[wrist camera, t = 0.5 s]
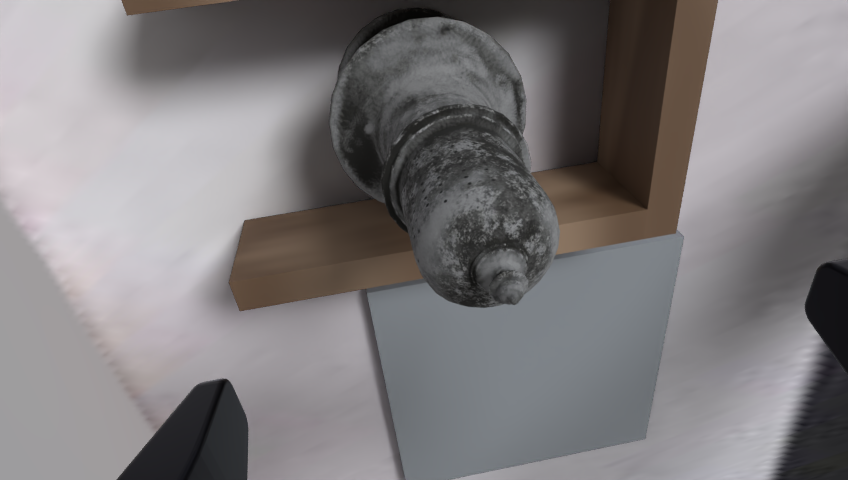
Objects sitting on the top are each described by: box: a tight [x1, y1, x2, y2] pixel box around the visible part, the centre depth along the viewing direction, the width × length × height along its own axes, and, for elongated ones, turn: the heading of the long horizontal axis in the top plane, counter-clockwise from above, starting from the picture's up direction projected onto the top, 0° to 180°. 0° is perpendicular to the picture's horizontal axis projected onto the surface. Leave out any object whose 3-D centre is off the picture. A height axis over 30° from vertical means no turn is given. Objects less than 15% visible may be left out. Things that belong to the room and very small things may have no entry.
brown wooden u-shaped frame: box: [122, 0, 718, 311], centre depth 17 cm, size 15×10×4 cm
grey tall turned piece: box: [329, 8, 560, 308], centre depth 14 cm, size 6×6×12 cm
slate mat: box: [366, 230, 684, 480], centre depth 27 cm, size 14×14×1 cm
